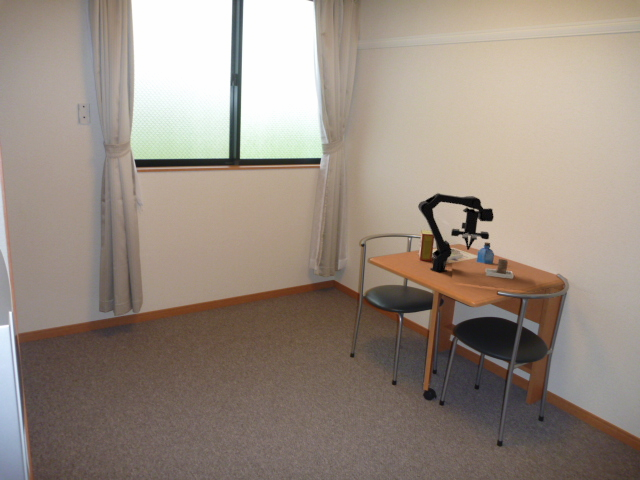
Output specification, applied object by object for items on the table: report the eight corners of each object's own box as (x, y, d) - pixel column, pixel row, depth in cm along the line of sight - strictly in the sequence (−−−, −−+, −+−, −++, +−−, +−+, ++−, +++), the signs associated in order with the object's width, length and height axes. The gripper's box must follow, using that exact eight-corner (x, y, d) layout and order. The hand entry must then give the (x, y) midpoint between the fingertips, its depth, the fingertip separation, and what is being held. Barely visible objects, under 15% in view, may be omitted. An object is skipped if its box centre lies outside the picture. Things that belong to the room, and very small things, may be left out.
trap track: (485, 277, 247) (486, 272, 247) (485, 273, 254) (485, 268, 253) (512, 281, 244) (513, 275, 243) (511, 276, 251) (512, 271, 250)
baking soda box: (431, 261, 272) (434, 234, 268) (419, 260, 273) (422, 233, 269) (430, 256, 281) (432, 230, 277) (418, 255, 282) (421, 229, 278)
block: (497, 275, 247) (499, 261, 245) (496, 273, 251) (498, 259, 249) (505, 276, 246) (507, 262, 244) (504, 274, 250) (506, 259, 248)
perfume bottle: (485, 261, 276) (488, 241, 273) (492, 264, 271) (495, 244, 268) (476, 262, 274) (479, 242, 271) (483, 265, 269) (486, 244, 266)
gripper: (489, 219, 255) (485, 247, 259) (453, 216, 260) (449, 244, 264) (490, 223, 245) (486, 253, 249) (453, 220, 249) (449, 249, 253)
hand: (467, 249), depth 254 cm, fingers closed
